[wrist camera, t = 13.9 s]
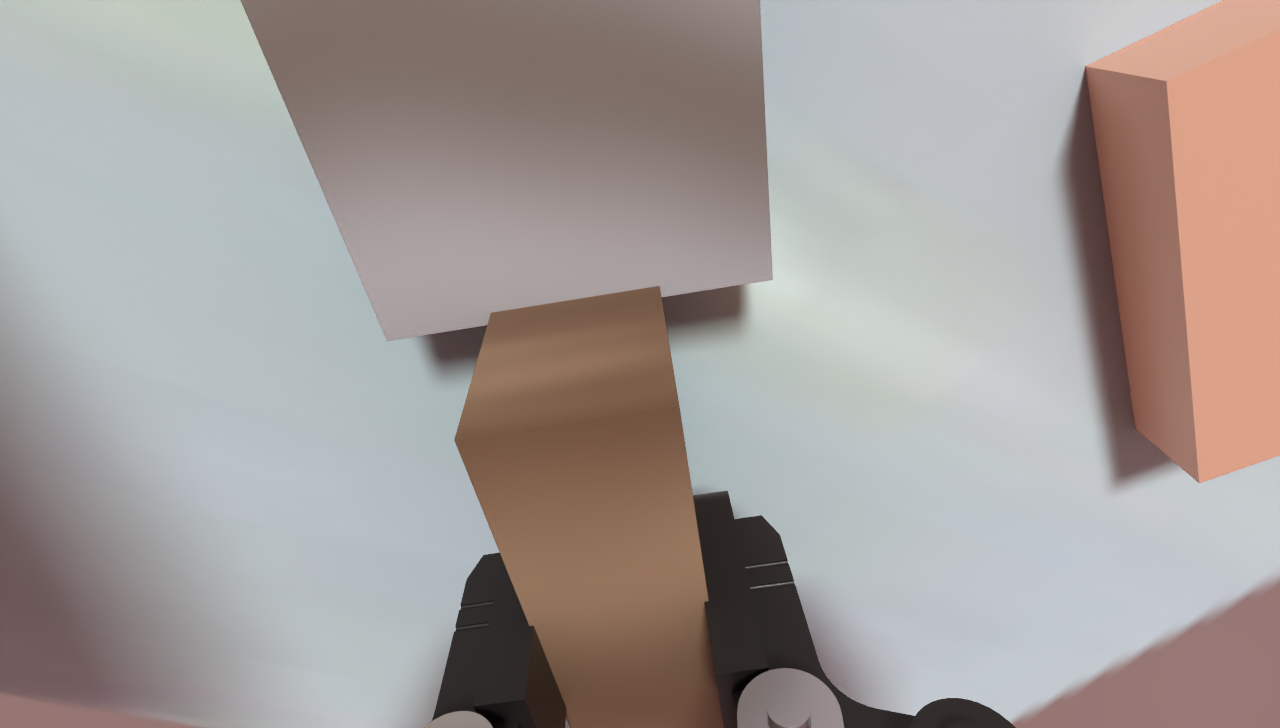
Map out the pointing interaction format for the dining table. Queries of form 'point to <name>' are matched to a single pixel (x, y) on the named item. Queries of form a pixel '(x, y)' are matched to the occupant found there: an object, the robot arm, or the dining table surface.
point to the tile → (1197, 230)
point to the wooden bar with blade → (553, 279)
